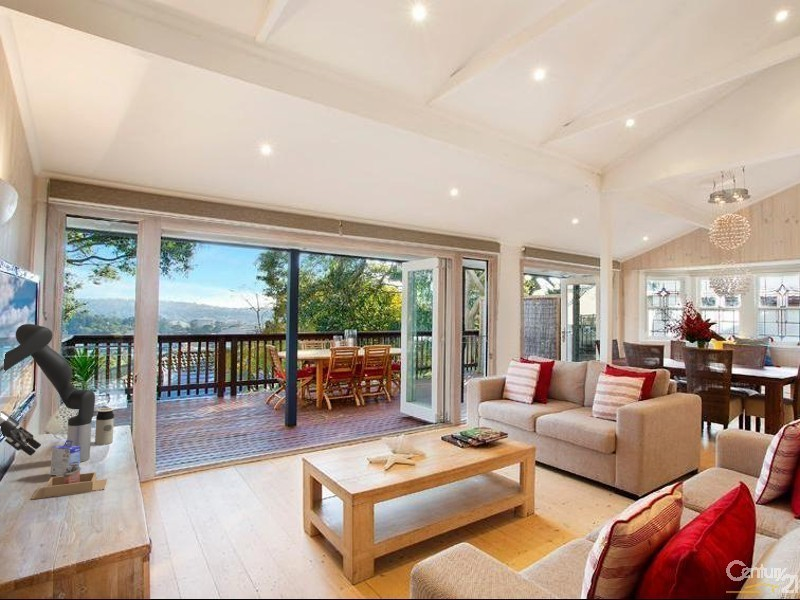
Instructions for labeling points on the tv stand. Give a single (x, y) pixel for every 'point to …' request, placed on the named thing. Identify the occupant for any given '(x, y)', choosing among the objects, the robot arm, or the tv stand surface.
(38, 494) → the mailer box
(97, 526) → the tv stand surface
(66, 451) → the ink cartridge box
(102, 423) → the travel mug
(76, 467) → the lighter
